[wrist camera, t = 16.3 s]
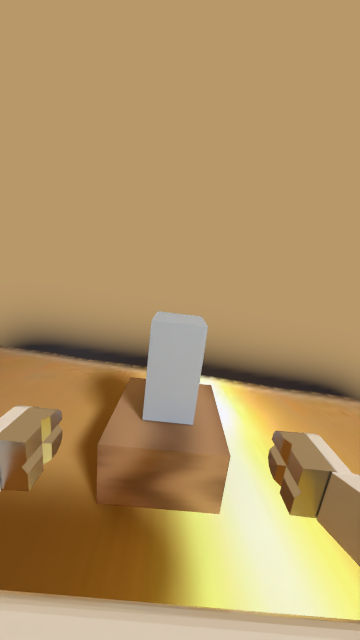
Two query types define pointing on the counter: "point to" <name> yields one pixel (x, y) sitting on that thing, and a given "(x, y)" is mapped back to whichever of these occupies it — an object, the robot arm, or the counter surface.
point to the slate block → (174, 367)
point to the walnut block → (162, 456)
